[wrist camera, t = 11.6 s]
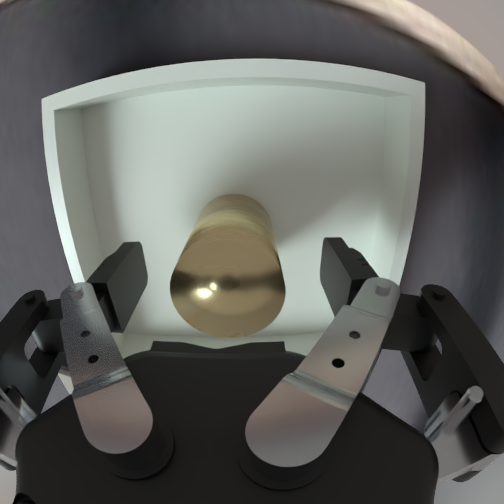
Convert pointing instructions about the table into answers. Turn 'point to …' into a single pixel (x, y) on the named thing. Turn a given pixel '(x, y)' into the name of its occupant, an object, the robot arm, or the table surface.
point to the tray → (236, 175)
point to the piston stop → (229, 270)
